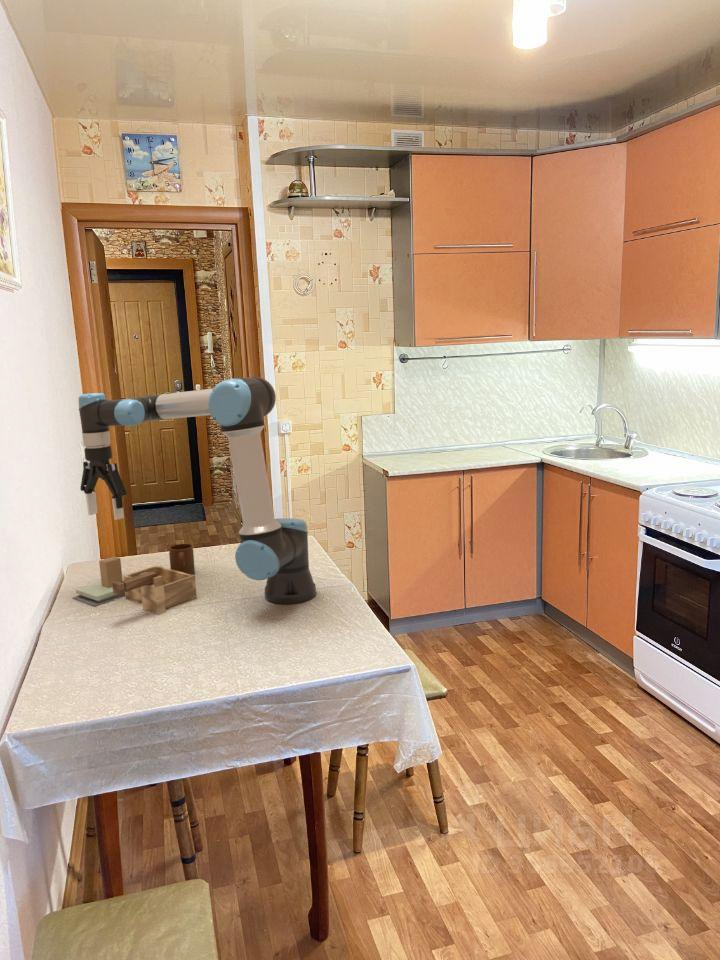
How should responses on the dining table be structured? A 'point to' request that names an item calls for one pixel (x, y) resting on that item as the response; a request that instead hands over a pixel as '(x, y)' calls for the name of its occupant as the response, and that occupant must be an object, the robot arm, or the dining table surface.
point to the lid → (104, 580)
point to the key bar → (133, 583)
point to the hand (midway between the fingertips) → (106, 516)
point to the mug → (182, 558)
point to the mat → (94, 602)
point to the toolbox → (163, 589)
